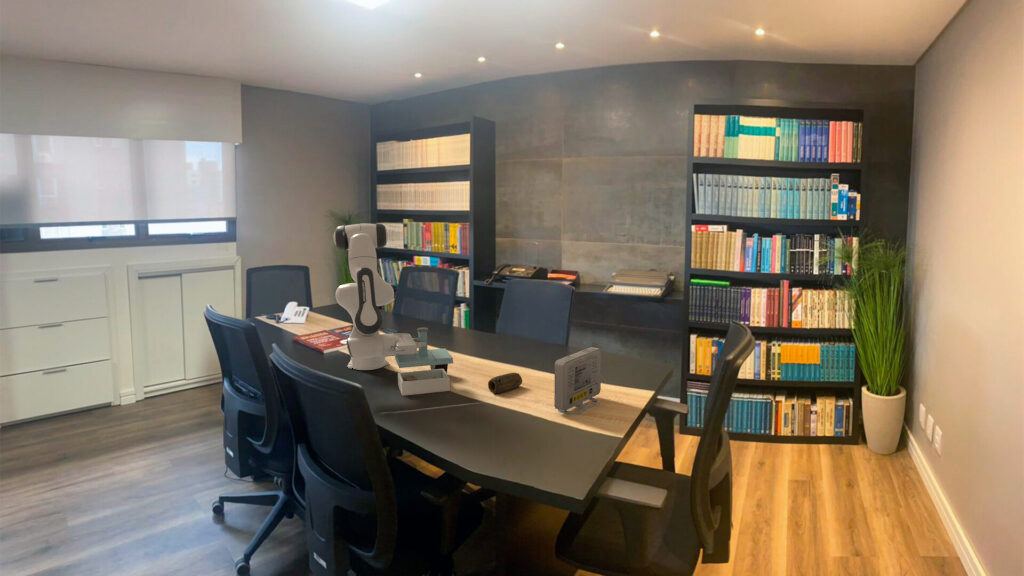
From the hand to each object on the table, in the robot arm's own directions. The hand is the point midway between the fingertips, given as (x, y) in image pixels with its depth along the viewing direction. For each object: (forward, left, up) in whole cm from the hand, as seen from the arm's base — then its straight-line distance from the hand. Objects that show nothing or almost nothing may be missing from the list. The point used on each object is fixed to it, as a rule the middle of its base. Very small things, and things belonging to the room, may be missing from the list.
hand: (425, 342), depth 243 cm
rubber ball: (-5, +4, -20) cm, 21 cm away
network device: (+35, +51, -20) cm, 66 cm away
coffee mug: (-18, +8, -20) cm, 28 cm away
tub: (-2, -1, -20) cm, 20 cm away
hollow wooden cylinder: (+9, +31, -21) cm, 38 cm away
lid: (0, -1, -7) cm, 8 cm away
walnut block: (-5, -6, -20) cm, 21 cm away
